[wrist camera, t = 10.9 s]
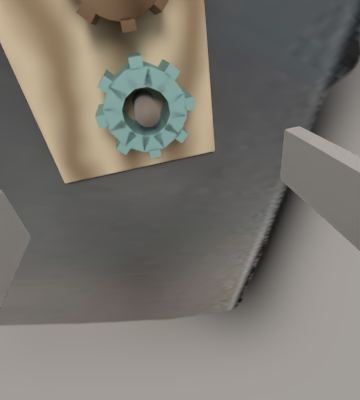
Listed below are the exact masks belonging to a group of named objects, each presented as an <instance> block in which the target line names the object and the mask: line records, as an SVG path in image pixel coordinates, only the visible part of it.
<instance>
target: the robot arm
mask: <svg viewBox="0 0 360 400" xmlns="http://www.w3.org/2000/svg"><path fill="white" fill-rule="evenodd" d="M280 180H282V181H283V182H284V183H285V184H286V185H287V186H288V187H289V188H291V189H292V190H293V191H294V192H295V193H296V194H297V195H298V196H300V197H301V198H302V199H303V200H304V201H305V202H306V203H307V204H308V205H310V206H311V207H312V208H313V209H314V210H315V211H316V212H317V213H319V214H320V215H321V216H322V217H323V218H324V219H325V220H326V221H327V222H328V223H330V224H331V225H332V226H333V227H334V228H335V229H336V230H337V231H339V232H340V233H341V234H342V235H343V236H344V237H345V238H346V239H347V240H349V241H350V242H351V243H352V244H353V245H354V246H355V247H356V248H357V249H359V250H360V157H359V156H357V155H355V154H353V153H351V152H349V151H347V150H345V149H343V148H341V147H339V146H337V145H335V144H333V143H331V142H329V141H327V140H325V139H323V138H321V137H320V136H317V135H315V134H314V133H312V132H310V131H308V130H306V129H304V128H302V127H300V126H299V127H294V128H290V129H285V132H284V143H283V154H282V164H281V175H280ZM30 238H31V236H30V234H29V233H28V231H27V230H26V228H25V226H24V225H23V223H22V222H21V220H20V218H19V217H18V215H17V214H16V212H15V210H14V209H13V207H12V206H11V204H10V202H9V201H8V199H7V198H6V196H5V194H4V193H3V191H2V190H0V309H1V306H2V304H3V302H4V299H5V297H6V294H7V292H8V290H9V287H10V285H11V283H12V280H13V278H14V276H15V273H16V271H17V269H18V266H19V264H20V262H21V259H22V257H23V255H24V252H25V250H26V248H27V245H28V243H29V240H30Z"/></svg>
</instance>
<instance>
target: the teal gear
mask: <svg viewBox="0 0 360 400" xmlns="http://www.w3.org/2000/svg"><path fill="white" fill-rule="evenodd" d="M127 58H128V62H129V64H125V65H124V66H123V67H122V68H121V69H120V70H119V71H117V72H116V73H115V74H112V73H111V72H110V71H108V70H107V69H106V71H105V73H104V74H103V76H102V78H101V80H100V82H99V85H98V88H99V89H101V90H102V91H104V92H105V93H107V94H106V98H105V102H104V104H99V105H98V108H97V112H96V115H95V118H96V121H97V124H98V127H99V128H104V127H108V128H109V131H110V132H111V133H112V134H113V135H114V136H115V137H116V138H117V139H116V150H118V151H120V152H122V153H123V154H125V155H127V153H128V152H129V150H130V149H131V148H132V149H136V150H139V151H142V152H148V151H149V154H150V158H151V159H152V158H157V157H161V152H160V149H162V148H165V147H166V146H167V145H168V144H170V143H171V142H172V141H173V140H174V139H176V140H178V141H179V142H181V143H182V142H183V141H184V140H185V138H186V137H187V135H188V133H187V131H186V130H185V128H184V127H183V125H184V122H185V120H186V117H187V111H188V110H193V109H195V103H194V97H193V96H192V95H191V94H190V93H189V92H188V91H186V90H185V89H184V88H180V87H179V86H178V84H177V83H176V82H175V79H176V78H177V76H178V75H179V73H180V71H179V70H178V69H177V68H175V67H174V66H173V65H172V64H170V63H169V62H167V61H165V60H164V59H162V61H161V62H160V64H159V66H155V65H153V64H150V63H148V62H146V61H142V57H141V55H140V54H139V53H138V52H136V53H131V54H127ZM143 87H150V88H152V89H155V90H158V91H160V92H161V93H162V98H163V106H162V109H161V112H160V119H159V121H158V122H157V124H155V125H154V126H152V127H144V126H142V125H140V124H139V123H138V122H137V121H136V120H133V119H131V117H130V116H129V115H128V114H127V113H126V112H125V111H124V107H123V105H124V101H125V98H126V97H127V96H128V95H129V94H130V93H131V92H132V91H133V90H134V89H138V88H143Z"/></svg>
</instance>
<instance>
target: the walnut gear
mask: <svg viewBox="0 0 360 400" xmlns="http://www.w3.org/2000/svg"><path fill="white" fill-rule="evenodd" d="M80 1H81V4H80V6H79V8H78V10H77V12H76V13H77V14H79V15H80V16H81V17H83V18H84V19H85V20H87V21H88V22H89V23H90V24H93V25H96V24H97V22H98V20H99V17H101V18H103V19H105V20H108V21H110V22H115V23H120V25H121V29H122V33H126V32H132V31H137V28H136V23H135V19H137V18H139V17H140V16H142V15H143V14H144V13H145V12H146V11H147V10H150V11H151V12H152V13H154V14H155V15H157V14H159V13H161V12H162V11H163V10H164V8H165V6H166V4H167V3H168V1H169V0H80Z"/></svg>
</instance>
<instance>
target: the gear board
mask: <svg viewBox="0 0 360 400" xmlns="http://www.w3.org/2000/svg"><path fill="white" fill-rule="evenodd" d="M80 4H81V1H80V0H0V43H1V45H2V47H3V49H4V51H5V54H6V56H7V58H8V60H9V62H10V64H11V67H12V69H13V71H14V73H15V75H16V78H17V80H18V82H19V84H20V86H21V88H22V91H23V93H24V95H25V97H26V99H27V102H28V104H29V106H30V108H31V110H32V112H33V115H34V117H35V119H36V121H37V123H38V126H39V128H40V130H41V132H42V134H43V136H44V139H45V141H46V143H47V145H48V147H49V150H50V152H51V154H52V156H53V158H54V160H55V163H56V165H57V167H58V169H59V171H60V174H61V176H62V178H63V180H64V182H65V183H70V182H74V181H79V180H83V179H88V178H93V177H97V176H102V175H106V174H111V173H116V172H120V171H125V170H129V169H134V168H139V167H143V166H148V165H152V164H157V163H162V162H166V161H171V160H175V159H180V158H185V157H189V156H194V155H199V154H203V153H208V152H212V151H215V146H214V132H213V118H212V104H211V91H210V77H209V63H208V49H207V35H206V21H205V7H204V0H169V1H168V3H167V4H166V6H165V8H164V10H163V11H162V12H161V13H159V14H157V15H155V14H154V13H152V12H151V11H150V10H147V11H146V12H145V13H144V14H143V15H142V16H140V17H139V18H137V19H135V23H136V28H137V31H132V32H126V33H122V29H121V25H120V23H115V22H110V21H108V20H105V19H103V18H101V17H99V20H98V22H97V24H96V25H93V24H90V23H89V22H88V21H87V20H85V19H84V18H83V17H81V16H80V15H79V14H77V13H76V12H77V10H78V8H79V6H80ZM136 52H138V53H139V54H140V55H141V57H142V61H146V62H148V63H150V64H153V65H155V66H159V64H160V62H161V61H162V59H164V60H165V61H167V62H169V63H170V64H172V65H173V66H174V67H175V68H177V69H178V70H179V71H180V73H179V75H178V76H177V78H176V79H175V82H176V83H177V84H178V86H179V87H180V88H184V89H185V90H186V91H188V92H189V93H190V94H191V95H192V96H193V97H194V103H195V109H193V110H188V111H187V117H186V120H185V122H184V125H183V127H184V128H185V130H186V131H187V133H188V135H187V137H186V138H185V140H184V141H183V142H182V143H181V142H179V141H178V140H176V139H174V140H173V141H172V142H171V143H170V144H168V145H167V146H166V147H165V148H162V149H160V152H161V157H157V158H152V159H151V158H150V154H149V151H148V152H142V151H139V150H136V149H132V148H131V149H130V150H129V152H128V153H127V155H125V154H123V153H122V152H120V151H118V150H116V139H117V138H116V137H115V136H114V135H113V134H112V133H111V132H110V131H109V128H108V127H104V128H99V127H98V124H97V121H96V118H95V115H96V112H97V108H98V105H99V104H104V102H105V98H106V94H107V93H105V92H104V91H102V90H101V89H99V88H98V85H99V82H100V80H101V78H102V76H103V74H104V73H105V71H106V69H107V70H108V71H110V72H111V73H112V74H115V73H116V72H117V71H119V70H120V69H121V68H122V67H123V66H124V65H125V64H129V62H128V58H127V54H131V53H136ZM162 106H163V98H162V93H161V92H160V91H158V90H155V89H152V88H150V87H143V88H138V89H134V90H133V91H132V92H131V93H130V94H129V95H128V96H127V97H126V98H125V101H124V105H123V107H124V111H125V112H126V113H127V114H128V115H129V116H130V117H131V119H133V120H136V121H137V122H138V123H139V124H140V125H142V126H144V127H152V126H154V125H155V124H157V122H158V121H159V119H160V112H161V109H162Z"/></svg>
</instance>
